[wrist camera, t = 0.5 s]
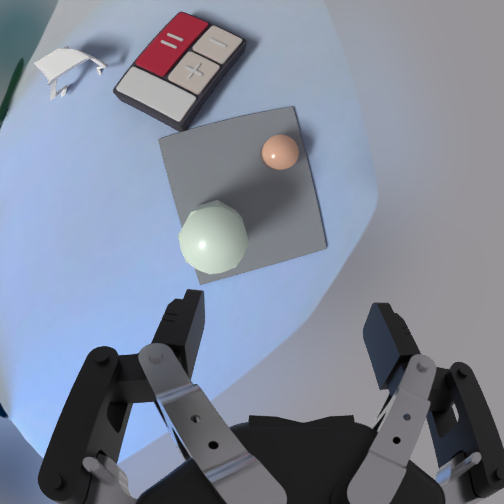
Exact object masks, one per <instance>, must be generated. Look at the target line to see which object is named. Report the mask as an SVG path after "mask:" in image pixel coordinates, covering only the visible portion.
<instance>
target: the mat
mask: <svg viewBox="0 0 504 504" xmlns="http://www.w3.org/2000/svg"><path fill="white" fill-rule="evenodd" d="M275 135H286V136H288V137H290V138H292V139H293V140H294V141H295V143H296V144H297V146H298V150H299V155H298V159H297V161H296V163H295V164H294V165H293V166H291V167H289V168H287V169H283V170H272V169H270V168H268V167H267V166H266V165H265V164H264V163H263V161H262V159H261V154H260V153H261V148H262V146H263V144H264V143H265V142H266V141H267V140H269V139H270V138H271V137H273V136H275ZM158 140H159V144H160V148H161V152H162V156H163V160H164V164H165V168H166V172H167V176H168V179H169V183H170V187H171V190H172V194H173V198H174V201H175V205H176V208H177V212H178V215H179V219H180V222H181V225H182V228H183V225H184V224H185V222H186V220H187V218H188V216H189V215H190V213H191V211H192V210H193V209H194V208H195V207H196V206H198V205H201V204H205V203H208V202H212V201H215V200H219V201H220V202H222V203H224V204H226V205H228V206H229V207H231V208H233V209H235V210H236V211H237V212H238V213H239V215H240V216H241V217H242V219H243V223H244V226H245V230H246V233H247V238H248V241H249V245H248V247H247V249H246V251H245V254H244V256H243V258H242V259H241V261H240V262H239V263H238V264H237V266H236V267H235V268H232V269H230V270H228V271H226V272H223V273H217V274H208V273H205V272H201V271H199V270H197V269H195V271H196V274H197V277H198V280H199V283H200V285H202V284H206V283H209V282H213V281H216V280H220V279H224V278H227V277H231V276H234V275H238V274H241V273H245V272H248V271H252V270H255V269H259V268H262V267H266V266H269V265H273V264H276V263H280V262H283V261H287V260H290V259H293V258H297V257H300V256H304V255H307V254H310V253H314V252H317V251H321V250H324V249H327V247H326V242H325V237H324V232H323V227H322V222H321V217H320V213H319V208H318V203H317V199H316V194H315V190H314V186H313V181H312V177H311V173H310V169H309V165H308V161H307V157H306V153H305V149H304V145H303V142H302V138H301V134H300V130H299V127H298V123H297V120H296V116H295V113H294V109H293V107H287V108H281V109H276V110H270V111H265V112H260V113H255V114H250V115H246V116H241V117H237V118H232V119H228V120H224V121H220V122H216V123H212V124H208V125H204V126H201V127H197V128H194V129H190V130H187V131H183V132H180V133H177V134H173V135H170V136H167V137H164V138H161V139H158Z"/></svg>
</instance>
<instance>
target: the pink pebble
mask: <svg viewBox="0 0 504 504" xmlns="http://www.w3.org/2000/svg"><path fill="white" fill-rule="evenodd" d="M260 154H261V159H262V161H263V163H264V164H265V165H266V166H267V167H268V168H270V169H272V170H283V169H287V168H289V167H291V166H293V165H294V164H295V163H296V161H297V159H298V155H299V150H298V146H297V144H296V143H295V141H294V140H293V139H292V138H290V137H288V136H286V135H275V136H273V137H271V138H270V139H269V140H267V141H266V142H265V143H264V144H263V146H262V148H261V153H260Z"/></svg>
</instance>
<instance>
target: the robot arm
mask: <svg viewBox="0 0 504 504" xmlns="http://www.w3.org/2000/svg"><path fill="white" fill-rule="evenodd" d="M204 324H205V306H204V291H201V290H192V289H187V291H186V293H185V296H184V298H183V299H174V300H173V301H172V302H171V303H170V304H169V305H168V306H167V309H166V311H165V314H164V315H163V318H162V321H161V322H160V324H159V327H158V329H157V331H156V334H155V336H154V338H153V341H152V343H151V344H149V345H147V346H145V347H144V348H142V349H141V351H140V352H139V353H138V354H132V355H118V353H117V351H116V350H115V349H113V348H111V347H107V346H102V347H97V348H95V349H93V350H92V351H91V352H90V353H89V354H88V356H87V358H86V360H85V362H84V364H83V366H82V368H81V370H80V372H79V374H78V376H77V378H76V381H75V383H74V385H73V387H72V389H71V392H70V394H69V396H68V398H67V401H66V403H65V405H64V408H63V410H62V412H61V415H60V417H59V420H58V422H57V424H56V427H55V430H54V432H53V435H52V437H51V440H50V443H49V445H48V448H47V451H46V454H45V456H44V459H43V462H42V465H41V468H40V472H39V475H38V484H39V486H40V489H41V491H42V492H43V493H44V494H45V495H46V496H47V497H48V498H50V499H51V500H53V501H55V502H57V503H58V504H476V503H478V502H480V501H482V500H483V499H485V498H487V497H489V496H490V495H492V494H494V493H496V492H497V491H499V490H500V489H502V488H504V448H503V446H502V442H501V439H500V436H499V433H498V431H497V428H496V425H495V422H494V420H493V417H492V415H491V412H490V409H489V407H488V405H487V402H486V400H485V397H484V395H483V393H482V391H481V388H480V386H479V384H478V382H477V380H476V377H475V375H474V373H473V371H472V369H471V368H470V367H469V366H468V365H466V364H465V363H462V362H455V363H454V364H453V365H452V366H451V367H450V369H444V368H439V367H436V365H435V363H434V361H433V360H432V359H431V358H429V357H427V356H425V355H422V354H421V353H420V351H419V349H418V347H417V345H416V343H415V341H414V339H413V337H412V335H411V333H410V331H409V329H408V327H407V325H406V323H405V321H404V320H403V319H402V318H401V317H400V316H399V315H398V314H397V313H394V312H393V310H392V308H391V306H390V304H389V303H373V304H372V306H371V309H370V312H369V315H368V317H367V320H366V323H365V325H364V328H363V338H364V341H365V344H366V348H367V350H368V354H369V356H370V360H371V363H372V366H373V369H374V372H375V375H376V379H377V382H378V386H379V389H380V390H383V389H389V392H390V393H389V394H388V396H387V397H386V399H385V401H384V403H383V405H382V407H381V409H380V411H379V413H378V414H377V416H376V418H375V420H374V422H373V423H372V425H371V427H368V426H366V425H363V424H359V423H356V422H354V417H353V415H349V416H330V417H326V418H322V419H318V420H314V421H310V422H306V423H301V422H296V421H292V420H288V419H283V418H279V417H270V416H252V415H250V416H249V421H248V422H246V423H241V424H237V425H234V426H231V427H228V426H227V424H226V423H225V422H224V420H223V419H222V418H221V416H220V415H219V414H218V412H217V411H216V409H215V408H214V406H213V405H212V404H211V402H210V401H209V399H208V398H207V396H206V395H205V394H204V392H203V391H202V389H201V388H200V387H199V386H198V385H197V384H195V385H194V384H193V383H192V382H191V377H192V373H193V369H194V365H195V361H196V357H197V353H198V349H199V345H200V341H201V338H202V334H203V330H204ZM143 402H153V403H154V405H155V407H156V409H157V411H158V413H159V414H160V416H161V418H162V420H163V422H164V424H165V426H166V427H167V429H168V431H169V433H170V435H171V437H172V439H173V441H174V443H175V445H176V446H177V448H178V450H179V452H180V453H181V455H182V457H183V458H184V460H185V462H184V463H182V464H181V465H180V466H179V467H177V468H176V469H175V470H174V471H172V472H171V473H169V474H168V475H167V476H165V477H164V478H163V479H161V480H160V481H159V482H157V483H156V484H155V485H153V486H152V487H150V488H149V489H147V490H146V491H145V492H143V493H142V494H141V495H140V497H139V498H138V499H135V498H133V497H132V496H131V495H130V493H129V490H128V478H127V476H126V474H125V473H124V471H123V470H122V469H121V468H120V467H119V466H118V465H117V461H118V457H119V453H120V449H121V445H122V441H123V438H124V434H125V430H126V426H127V423H128V419H129V416H130V412H131V408H132V405H133V403H143ZM454 403H455V405H456V408H457V411H458V414H459V419H458V422H457V420H456V417H455V414H454V411H453V408H452V405H453V404H454ZM425 418H427V421H428V424H429V428H430V432H431V436H432V440H433V444H434V448H435V453H436V457H437V461H438V466H439V470H438V472H437V474H436V480H434V479H433V478H431V477H430V476H429V475H428V474H426V473H425V472H424V471H423V470H422V469H420V468H419V467H418V466H417V465H415V464H414V463H413V462H412V461H411V460H409V458H410V456H411V454H412V452H413V449H414V447H415V444H416V442H417V440H418V437H419V435H420V432H421V429H422V427H423V424H424V421H425Z"/></svg>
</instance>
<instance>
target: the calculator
mask: <svg viewBox="0 0 504 504" xmlns="http://www.w3.org/2000/svg"><path fill="white" fill-rule="evenodd" d="M246 43H247V42H246V40H245V39H243V38H241V37H239V36H237V35H235V34H233V33H231V32H229V31H226V30H224V29H222V28H220V27H218V26H216V25H213V24H211V23H209V22H207V21H204V20H202V19H199V18H197V17H195V16H192V15H190V14H187V13H184V12H179V13H178V14H177V15H176V16H175V17H174V18H173V19H172V20H171V21H170V22H169V23H168V24H167V25H166V26H165V27H164V28H163V29H162V30H161V31H160V32H159V33H158V34H157V36H156V37H155V38H154V39H153V40H152V41H151V42H150V43H149V45H148V46H147V47H146V48H145V49H144V50H143V52H142V53H141V54H140V55H139V56H138V58H137V59H136V60H135V61H134V62H133V64H132V65H131V66H130V67H129V69H128V70H127V71H126V73H125V74H124V75H123V77H122V78H121V79H120V81H119V82H118V83H117V85H116V86H115V88H114V89H113V93H114V94H115V95H116V96H117V97H118V98H119V99H120V100H121V101H122V102H124V103H126V104H128V105H130V106H132V107H134V108H136V109H138V110H140V111H142V112H144V113H146V114H148V115H150V116H151V117H153V118H155V119H157V120H159V121H161V122H163V123H164V124H166V125H168V126H170V127H172V128H174V129H175V130H177V131H179V132H183V131H185V130H186V129H187V127H188V126H189V124H190V123H191V121H192V120H193V119H194V117H195V116H196V114H197V113H198V111H199V110H200V108H201V107H202V105H203V103H204V102H205V101H206V99H207V98H208V97H209V95H210V94H211V93H212V91H213V90H214V89H215V87H216V86H217V85H218V83H219V82H220V81H221V80H222V78H223V77H224V76H225V74H226V73H227V72H228V71H229V69H230V68H231V67H232V66H233V64H234V63H235V62H236V61H237V59H238V58H239V57H240V56H241V54H242V53H243V52H244V50H245V46H246Z"/></svg>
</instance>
